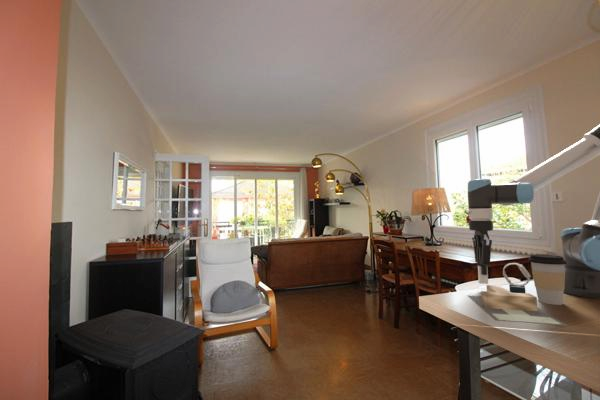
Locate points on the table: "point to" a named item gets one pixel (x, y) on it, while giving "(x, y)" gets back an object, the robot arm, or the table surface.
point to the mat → (518, 314)
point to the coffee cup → (548, 277)
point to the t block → (508, 299)
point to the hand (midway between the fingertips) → (483, 283)
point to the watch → (517, 287)
